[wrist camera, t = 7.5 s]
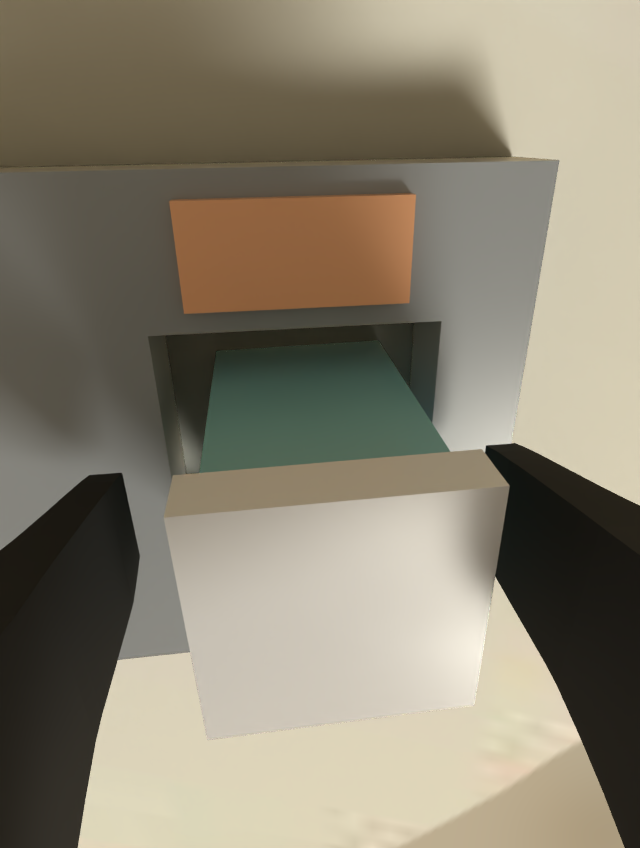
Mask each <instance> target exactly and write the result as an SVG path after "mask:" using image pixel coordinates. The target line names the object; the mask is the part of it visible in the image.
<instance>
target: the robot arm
mask: <svg viewBox="0 0 640 848" xmlns="http://www.w3.org/2000/svg"><path fill="white" fill-rule="evenodd" d="M485 454H486V455H487V456H488V458H489V459H490V460H491V462H492V463H493V464H494V466H495V467H496V468H497V470H498V471H499V472H500V474H501V475H502V476H503V478H504V479H505V480H506V482H507V483H508V484H509V486H510V487H509V493H508V499H507V506H506V512H505V518H504V524H503V530H502V537H501V543H500V549H499V555H498V562H497V568H496V574H495V576H496V578H497V580H498V582H499V584H500V585H501V587H502V589H503V591H504V592H505V594H506V596H507V598H508V599H509V601H510V603H511V605H512V606H513V608H514V610H515V612H516V613H517V615H518V617H519V619H520V620H521V622H522V624H523V625H524V627H525V629H526V631H527V632H528V634H529V636H530V638H531V639H532V641H533V643H534V644H535V646H536V648H537V650H538V651H539V653H540V655H541V657H542V658H543V660H544V662H545V664H546V665H547V667H548V669H549V671H550V673H551V675H552V677H553V679H554V681H555V683H556V685H557V687H558V689H559V691H560V693H561V695H562V698H563V700H564V702H565V704H566V707H567V709H568V711H569V713H570V716H571V718H572V720H573V722H574V724H575V727H576V729H577V731H578V733H579V736H580V738H581V740H582V743H583V745H584V747H585V750H586V752H587V754H588V757H589V759H590V762H591V764H592V766H593V769H594V771H595V774H596V776H597V778H598V781H599V783H600V785H601V788H602V790H603V793H604V795H605V798H606V800H607V803H608V806H609V808H610V811H611V813H612V816H613V819H614V821H615V824H616V826H617V829H618V832H619V834H620V837H621V839H622V842H623V844H624V847H625V848H640V506H639V505H637V504H635V503H633V502H631V501H629V500H627V499H625V498H623V497H621V496H619V495H617V494H615V493H613V492H611V491H609V490H607V489H605V488H603V487H601V486H599V485H597V484H595V483H593V482H591V481H589V480H587V479H585V478H583V477H582V476H580V475H578V474H576V473H574V472H572V471H570V470H568V469H566V468H565V467H563V466H561V465H559V464H557V463H555V462H553V461H551V460H549V459H547V458H545V457H544V456H542V455H540V454H538V453H536V452H534V451H531V450H529V449H527V448H525V447H523V446H520V445H518V444H515V443H512V444H499V445H486V449H485ZM139 560H140V553H139V549H138V544H137V540H136V535H135V530H134V526H133V521H132V516H131V512H130V507H129V502H128V498H127V493H126V488H125V484H124V479H123V474H122V473H110V474H96V475H89V476H87V477H86V478H85V479H83V480H82V481H81V482H80V483H79V484H77V485H76V486H75V487H74V488H73V489H72V490H70V491H69V492H68V493H67V494H66V495H65V496H64V497H62V498H61V499H60V500H59V501H58V502H57V503H56V504H54V505H53V506H52V507H51V508H50V509H49V510H48V511H47V512H45V513H44V514H43V515H42V516H41V517H40V518H38V519H37V520H36V521H35V522H34V523H33V524H31V525H30V526H29V527H28V528H27V529H26V530H24V531H23V532H22V533H21V534H20V535H19V536H17V537H16V538H15V539H14V540H13V541H11V542H10V543H9V544H8V545H6V546H5V547H4V548H2V549H1V550H0V848H77V847H78V841H79V835H80V829H81V823H82V816H83V810H84V804H85V798H86V792H87V787H88V781H89V776H90V770H91V765H92V759H93V753H94V748H95V742H96V738H97V734H98V729H99V725H100V721H101V717H102V713H103V709H104V706H105V702H106V699H107V695H108V692H109V688H110V685H111V681H112V678H113V674H114V671H115V667H116V664H117V660H118V657H119V653H120V650H121V646H122V643H123V639H124V636H125V632H126V629H127V625H128V621H129V618H130V614H131V610H132V607H133V603H134V596H135V590H136V583H137V576H138V568H139Z"/></svg>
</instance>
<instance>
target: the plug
mask: <svg viewBox="0 0 640 848" xmlns="http://www.w3.org/2000/svg"><path fill="white" fill-rule="evenodd" d="M509 487H510V486H509V484H508V483H507V482H506V480H505V479H504V478H503V476H502V475H501V474H500V472H499V471H498V470H497V468H496V467H495V466H494V464H493V463H492V462H491V460H490V459H489V458H488V456H487V455H486V454H485V453H484V451H483V450H482V449H476V450H465V451H453V452H450V450H449V448H448V447H447V445H446V444H445V442H444V441H443V439H442V438H441V436H440V435H439V433H438V431H437V430H436V428H435V427H434V425H433V424H432V422H431V421H430V419H429V418H428V416H427V415H426V413H425V411H424V410H423V408H422V407H421V405H420V404H419V402H418V401H417V399H416V398H415V396H414V394H413V393H412V391H411V390H410V388H409V387H408V385H407V384H406V382H405V381H404V379H403V377H402V376H401V374H400V373H399V371H398V370H397V368H396V367H395V365H394V364H393V362H392V360H391V359H390V357H389V356H388V354H387V353H386V351H385V350H384V348H383V347H382V345H381V344H380V342H379V340H375V341H360V342H345V343H329V344H314V345H299V346H284V347H268V348H253V349H238V350H222V351H216V357H215V364H214V371H213V378H212V385H211V393H210V400H209V407H208V414H207V421H206V428H205V435H204V442H203V449H202V457H201V464H200V471H199V473H194V474H182V475H173V477H172V481H171V486H170V491H169V495H168V500H167V504H166V509H165V514H164V522H165V527H166V532H167V537H168V542H169V547H170V553H171V558H172V563H173V568H174V573H175V578H176V583H177V588H178V593H179V598H180V603H181V609H182V614H183V619H184V624H185V629H186V634H187V639H188V644H189V649H190V654H191V659H192V665H193V670H194V675H195V680H196V685H197V690H198V695H199V700H200V705H201V710H202V716H203V721H204V726H205V731H206V736H207V740H213V739H221V738H228V737H236V736H244V735H252V734H259V733H267V732H275V731H283V730H290V729H298V728H306V727H314V726H321V725H329V724H337V723H345V722H352V721H360V720H368V719H376V718H383V717H391V716H399V715H407V714H414V713H422V712H430V711H438V710H445V709H453V708H461V707H468V706H474V705H475V699H476V693H477V686H478V680H479V674H480V668H481V661H482V655H483V649H484V643H485V636H486V630H487V624H488V618H489V612H490V605H491V599H492V593H493V587H494V580H495V574H496V568H497V562H498V555H499V549H500V543H501V537H502V530H503V524H504V518H505V512H506V506H507V499H508V493H509Z"/></svg>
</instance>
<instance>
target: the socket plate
mask: <svg viewBox="0 0 640 848" xmlns="http://www.w3.org/2000/svg"><path fill="white" fill-rule="evenodd" d="M558 165H559V160H550V159H537V158H524V157H475V158H428V159H381V160H334V161H287V162H240V163H193V164H146V165H99V166H52V167H5V168H0V550H1V549H2V548H4V547H5V546H6V545H8V544H9V543H10V542H11V541H13V540H14V539H15V538H16V537H17V536H19V535H20V534H21V533H22V532H23V531H24V530H26V529H27V528H28V527H29V526H30V525H31V524H33V523H34V522H35V521H36V520H37V519H38V518H40V517H41V516H42V515H43V514H44V513H45V512H47V511H48V510H49V509H50V508H51V507H52V506H53V505H54V504H56V503H57V502H58V501H59V500H60V499H61V498H62V497H64V496H65V495H66V494H67V493H68V492H69V491H70V490H72V489H73V488H74V487H75V486H76V485H77V484H79V483H80V482H81V481H82V480H83V479H85V478H86V477H87V476H89V475H96V474H110V473H122V474H123V479H124V484H125V488H126V493H127V498H128V502H129V507H130V512H131V516H132V521H133V526H134V530H135V535H136V540H137V544H138V549H139V553H140V560H139V568H138V576H137V583H136V590H135V596H134V603H133V607H132V610H131V614H130V618H129V621H128V625H127V629H126V632H125V636H124V639H123V643H122V646H121V650H120V653H119V657H118V660H121V659H130V658H140V657H149V656H158V655H168V654H177V653H186V652H190V649H189V644H188V639H187V634H186V629H185V624H184V619H183V614H182V609H181V603H180V598H179V593H178V588H177V583H176V578H175V573H174V568H173V563H172V558H171V553H170V547H169V542H168V537H167V532H166V527H165V522H164V514H165V509H166V504H167V500H168V495H169V491H170V486H171V481H172V477H173V475H182V474H186V468H185V461H184V455H183V448H182V441H181V435H180V428H179V422H178V415H177V408H176V402H175V395H174V388H173V382H172V375H171V369H170V362H169V355H168V349H167V342H166V335H181V334H201V333H220V332H240V331H259V330H279V329H298V328H318V327H338V326H357V325H377V324H396V323H414V329H413V344H412V359H411V374H410V390H411V391H412V393H413V394H414V396H415V398H416V399H417V401H418V402H419V404H420V405H421V407H422V408H423V410H424V411H425V413H426V415H427V416H428V418H429V419H430V421H431V422H432V424H433V425H434V427H435V428H436V430H437V431H438V433H439V435H440V436H441V438H442V439H443V441H444V442H445V444H446V445H447V447H448V448H449V450H450V452H453V451H465V450H476V449H482V450H483V451H484V453H485V449H486V445H499V444H511V443H512V437H513V431H514V426H515V420H516V414H517V408H518V402H519V396H520V390H521V384H522V378H523V372H524V366H525V360H526V354H527V349H528V343H529V337H530V331H531V325H532V319H533V313H534V307H535V301H536V295H537V289H538V283H539V278H540V272H541V266H542V260H543V254H544V248H545V242H546V236H547V230H548V224H549V218H550V212H551V206H552V201H553V195H554V189H555V183H556V177H557V171H558Z"/></svg>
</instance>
